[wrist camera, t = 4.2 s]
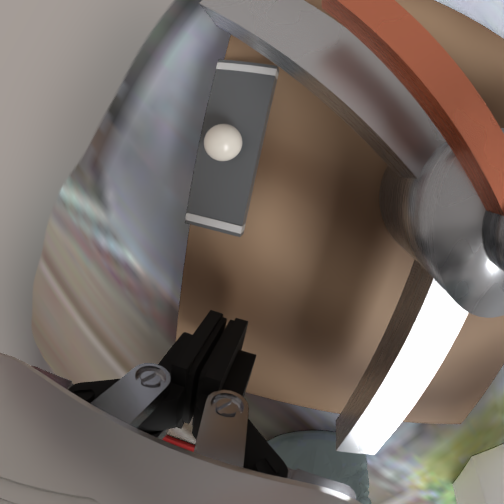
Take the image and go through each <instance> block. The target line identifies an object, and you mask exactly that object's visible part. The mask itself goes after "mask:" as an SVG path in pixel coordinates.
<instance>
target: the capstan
mask: <svg viewBox="0 0 504 504" xmlns="http://www.w3.org/2000/svg"><path fill="white" fill-rule="evenodd" d="M199 4H200V5H201V6H202V8H203V9H204V10H205V11H206V12H207V14H208V15H209V16H210V17H211V19H212V20H213V21H214V23H215V24H216V25H217V26H218V27H220V28H221V29H223V30H225V31H226V32H228V33H230V34H231V35H233V36H234V37H236V38H238V39H239V40H241V41H242V42H244V43H245V44H247V45H248V46H250V47H251V48H253V49H254V50H256V51H257V52H259V53H260V54H262V55H263V56H265V57H266V58H267V59H269V60H270V61H272V62H273V63H274V64H276V65H277V66H279V67H280V68H281V69H283V70H284V71H285V72H287V73H288V74H289V75H291V76H292V77H293V78H294V79H296V80H297V81H298V82H300V83H301V84H302V85H303V86H305V87H306V88H307V89H308V90H309V91H311V92H312V93H313V94H314V95H315V96H317V97H318V98H319V99H320V100H321V101H323V102H324V103H325V104H326V105H327V106H328V107H329V108H331V109H332V110H333V111H334V112H335V113H336V114H337V115H338V116H339V117H341V118H342V119H343V120H344V121H345V122H346V123H347V124H348V125H349V126H350V127H351V128H352V129H353V130H354V131H355V132H356V133H357V134H358V135H360V136H361V137H362V138H363V139H364V140H365V141H366V142H367V143H368V144H369V145H370V147H371V148H372V149H373V150H374V151H375V152H376V153H377V154H378V155H379V156H380V157H381V158H382V159H383V160H384V161H385V162H386V163H387V164H388V166H387V168H386V170H385V172H384V174H383V177H382V181H381V185H380V192H379V204H380V211H381V215H382V219H383V222H384V224H385V226H386V228H387V230H388V232H389V233H390V235H391V236H392V237H393V239H394V240H395V241H396V242H397V243H398V244H399V245H400V246H401V247H402V248H403V249H404V250H405V251H406V252H407V253H409V254H410V255H411V256H412V257H413V258H414V262H413V265H412V268H411V270H410V273H409V276H408V278H407V281H406V284H405V286H404V289H403V291H402V294H401V296H400V299H399V301H398V303H397V306H396V308H395V310H394V313H393V315H392V317H391V319H390V322H389V324H388V326H387V328H386V330H385V333H384V335H383V337H382V339H381V341H380V343H379V345H378V347H377V349H376V351H375V353H374V355H373V357H372V359H371V361H370V363H369V365H368V367H367V369H366V370H365V372H364V374H363V376H362V378H361V380H360V381H359V383H358V385H357V387H356V388H355V390H354V392H353V394H352V395H351V397H350V399H349V400H348V402H347V404H346V405H345V407H344V409H343V410H342V412H341V414H340V415H339V417H338V418H337V420H336V451H341V452H349V453H358V454H370V455H374V454H375V453H376V452H377V451H378V450H379V449H380V448H381V446H382V445H383V444H384V443H385V442H386V441H387V439H388V438H389V437H390V436H391V435H392V433H393V432H394V431H395V430H396V428H397V427H398V426H399V425H400V423H401V422H402V421H403V419H404V418H405V417H406V416H407V414H408V413H409V411H410V410H411V409H412V407H413V406H414V405H415V403H416V402H417V400H418V399H419V398H420V396H421V395H422V393H423V392H424V390H425V389H426V387H427V386H428V384H429V383H430V381H431V380H432V378H433V376H434V375H435V373H436V372H437V370H438V368H439V367H440V365H441V363H442V362H443V360H444V358H445V356H446V355H447V353H448V351H449V349H450V348H451V346H452V344H453V342H454V340H455V338H456V337H457V335H458V333H459V331H460V329H461V327H462V325H463V323H464V321H465V319H466V317H467V314H468V312H469V313H470V314H473V315H476V316H479V317H485V318H493V317H499V316H503V315H504V128H500V126H499V125H498V123H497V121H496V120H495V118H494V116H493V115H492V113H491V111H490V110H489V108H488V107H487V105H486V104H485V102H484V101H483V99H482V98H481V96H480V95H479V93H478V92H477V90H476V89H475V87H474V86H473V85H472V83H471V82H470V81H469V79H468V78H467V77H466V75H465V74H464V73H463V71H462V70H461V69H460V67H459V66H458V65H457V64H456V62H455V61H454V60H453V59H452V58H451V56H450V55H449V54H448V53H447V52H446V51H445V49H444V48H443V47H442V46H441V45H440V44H439V43H438V42H437V41H436V39H435V38H434V37H433V36H432V35H431V34H430V33H429V32H428V31H427V30H426V29H425V28H424V27H423V26H422V25H421V24H420V23H419V22H418V21H417V20H416V19H415V18H414V17H413V16H412V15H411V14H410V13H409V12H408V11H406V10H405V9H404V8H403V7H402V6H401V5H400V4H399V3H397V2H396V1H395V0H322V9H324V10H325V11H326V12H327V13H329V14H330V15H331V16H332V17H334V18H335V19H336V20H337V21H338V22H340V23H341V24H342V25H341V24H340V23H338V22H337V21H335V20H334V19H333V18H331V17H330V16H328V15H327V14H325V13H324V12H322V11H320V10H319V9H317V8H316V7H314V6H313V5H311V4H309V3H308V2H306V1H304V0H202V1H201V2H200V3H199ZM345 27H346V28H345Z"/></svg>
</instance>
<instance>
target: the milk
mask: <svg viewBox="0 0 504 504" xmlns="http://www.w3.org/2000/svg"><path fill="white" fill-rule="evenodd" d="M453 488H454V492H455V497H456V502H457V504H504V444H502V445H499V446H497V447H495V448H492V449H490V450H487V451H485V452H482V453H479V454H477V455H474V456H472V457H471V458H470V460H469V461H468V463H467V464H466V466H465V467H464V469H463V470H462V472H461V473H460V475H459V476H458V478H457V479H456V480H455V482H454V483H453Z"/></svg>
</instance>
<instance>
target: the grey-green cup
mask: <svg viewBox="0 0 504 504" xmlns="http://www.w3.org/2000/svg"><path fill="white" fill-rule="evenodd" d="M267 442H268V444H269V445H270V446H271V447H272V448H273V449H274V451H275V452H276V453H277V454H278V455H279V456H280V457H281V459H282V460H283V461H284V462H285V464H286V465H287V467H288V468H291V469H294V470H296V469H297V468H298V469H301V470H303V471H306V472H309V473H312V474H315V475H318V476H320V477H323V478H327V479H330V480H333V481H336V482H339V483H343V484H345V485H347V486H350V487H351V488H352V489H353V490H354V492H355V495H356V500H357V501H358V502H360V503H362V504H371V500H370V499H369V498H368V495H369V491H368V488H369V478H368V471H367V459H366V454H358V453H349V452H341V451H336V432H329V431H321V430H318V431H313V430H310V431H297V432H292V433H287V434H283V435H279V436H277V437H275V438H273V439H271V440H269V441H267Z"/></svg>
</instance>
